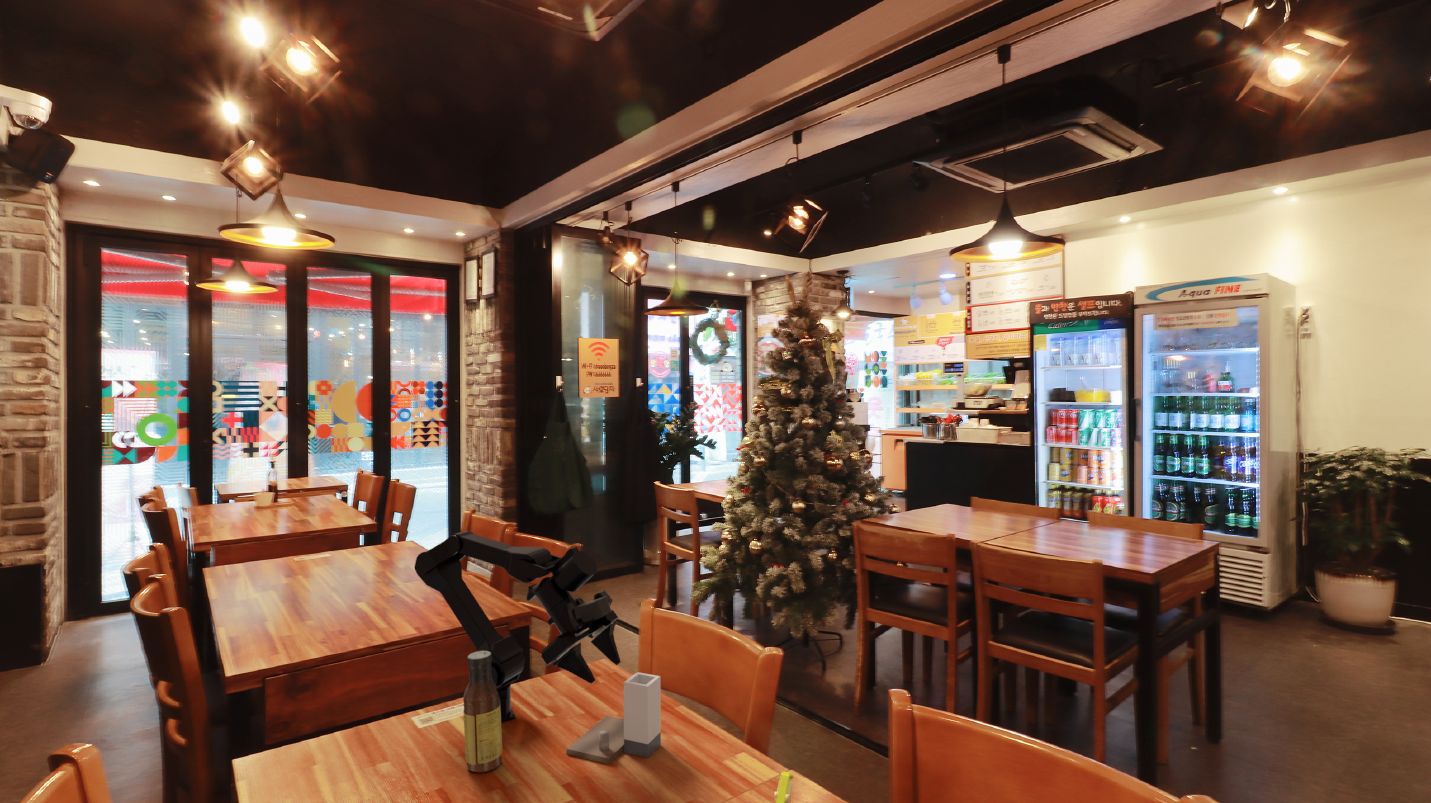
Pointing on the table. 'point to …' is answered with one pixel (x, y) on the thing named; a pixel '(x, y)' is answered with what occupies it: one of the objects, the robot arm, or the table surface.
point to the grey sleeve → (642, 714)
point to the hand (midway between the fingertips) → (606, 672)
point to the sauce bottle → (482, 716)
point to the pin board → (593, 741)
